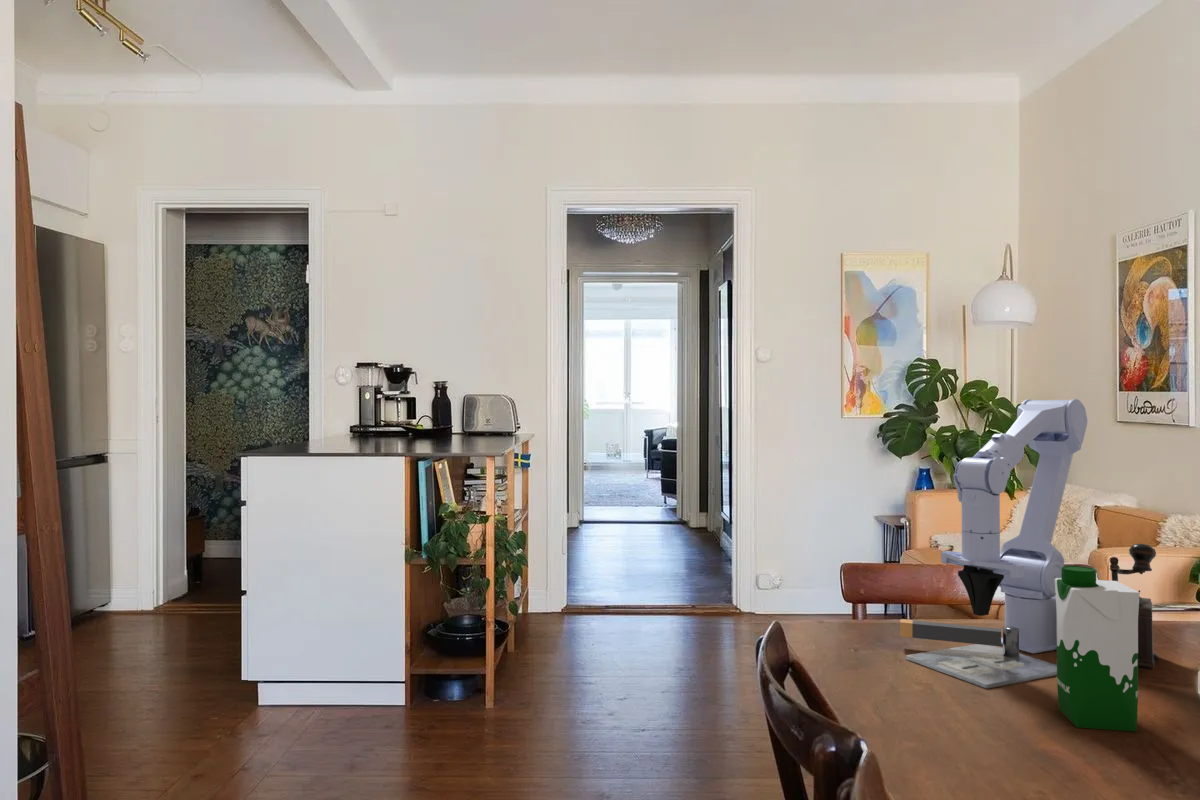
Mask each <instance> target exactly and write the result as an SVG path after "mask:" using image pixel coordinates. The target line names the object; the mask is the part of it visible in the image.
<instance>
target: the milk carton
mask: <svg viewBox="0 0 1200 800" xmlns="http://www.w3.org/2000/svg"><path fill="white" fill-rule="evenodd" d="M1138 591H1139V590H1135V589H1133V588H1131V587H1130V586H1128V585H1126V584H1124V583H1121V581H1120V582H1119V580H1118V581H1112V580H1105V579H1104V580H1103V579H1102V580H1101V579H1097V569H1095V568H1093V567H1089V566H1082V565H1064V566H1063V567H1062V577H1061V578H1055V592H1056V595H1055V596H1056V609H1057V649H1056V665H1057V675H1056V684H1057V686H1056V687H1057V699H1058V700H1057V701H1058V709H1059V711H1061V713H1062V714H1063V715H1064V716H1065V717H1066V718H1068V720H1069V721H1070V722H1071V724H1073V725H1074V726H1075V727H1076V728H1079V729H1081V728H1082V729H1092V730H1093V729H1095V730H1108V731H1109V730H1111V731H1122V732H1125V731H1126V732H1137V731H1138V706H1139V705H1138V704H1139V701H1138V700H1139V668H1138V611H1139V596H1140V594H1141V592H1138ZM1140 597H1141V596H1140Z"/></svg>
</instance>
